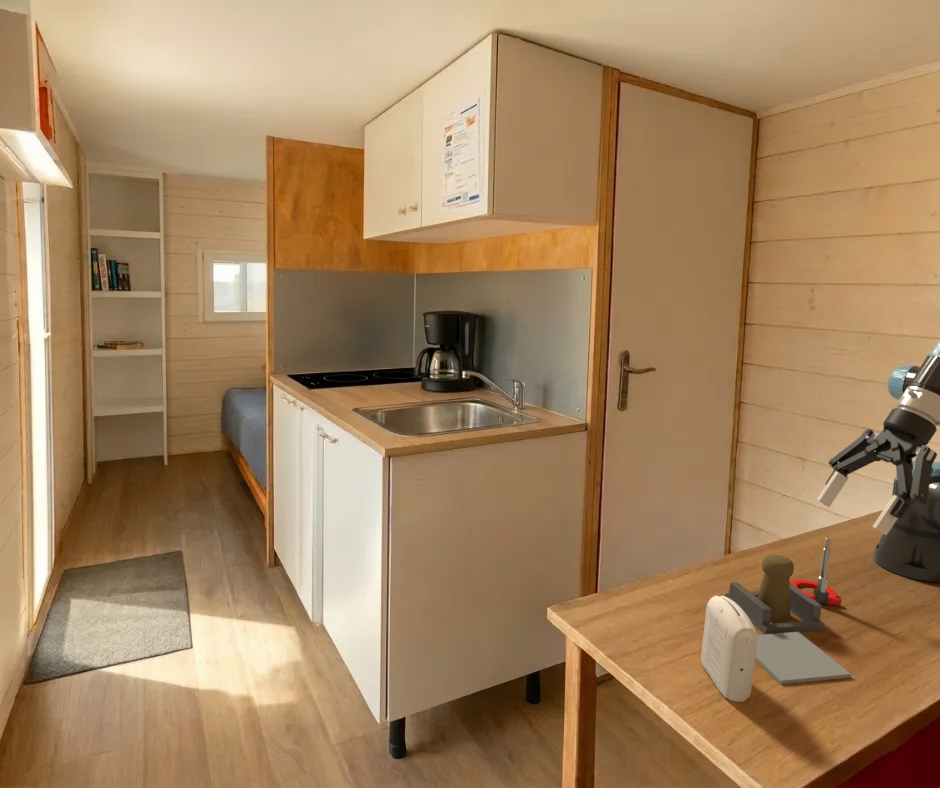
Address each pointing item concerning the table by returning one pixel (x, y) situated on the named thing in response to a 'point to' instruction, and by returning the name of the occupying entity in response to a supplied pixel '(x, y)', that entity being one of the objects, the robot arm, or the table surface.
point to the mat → (795, 659)
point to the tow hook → (821, 582)
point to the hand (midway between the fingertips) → (849, 516)
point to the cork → (776, 586)
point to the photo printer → (729, 648)
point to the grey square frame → (761, 612)
